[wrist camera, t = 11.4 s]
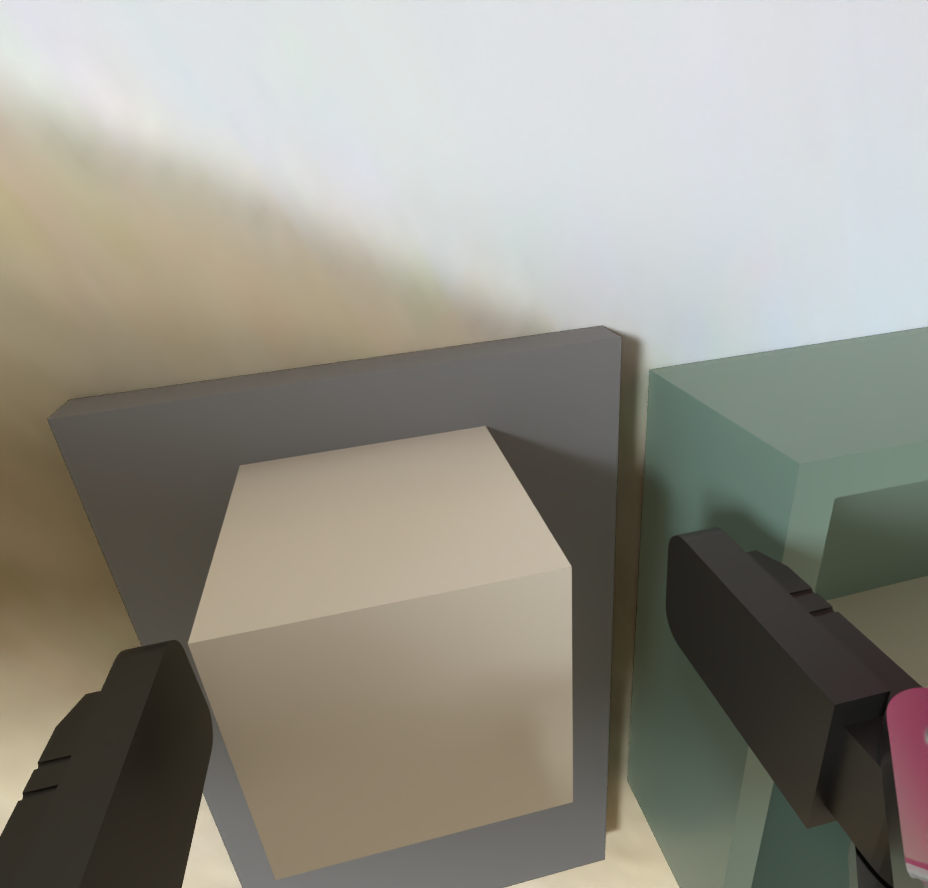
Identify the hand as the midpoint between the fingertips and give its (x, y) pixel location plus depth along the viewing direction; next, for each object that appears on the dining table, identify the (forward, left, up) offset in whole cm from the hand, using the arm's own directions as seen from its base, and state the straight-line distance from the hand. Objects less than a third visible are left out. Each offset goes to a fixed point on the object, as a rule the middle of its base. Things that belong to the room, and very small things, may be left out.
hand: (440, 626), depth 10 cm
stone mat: (-1, -6, -5) cm, 7 cm away
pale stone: (-1, -1, -4) cm, 4 cm away
